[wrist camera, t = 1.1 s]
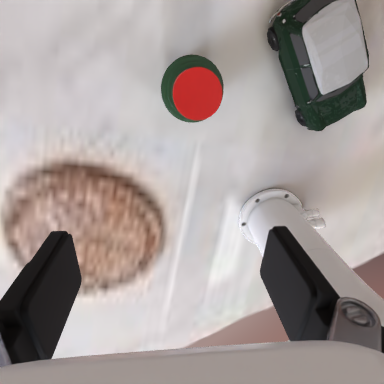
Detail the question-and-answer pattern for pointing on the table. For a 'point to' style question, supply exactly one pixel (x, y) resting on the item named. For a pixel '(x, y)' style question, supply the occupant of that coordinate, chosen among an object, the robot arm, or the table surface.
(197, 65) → the bottle
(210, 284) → the table surface
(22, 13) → the table surface
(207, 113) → the cap
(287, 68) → the miniature car
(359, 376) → the robot arm
